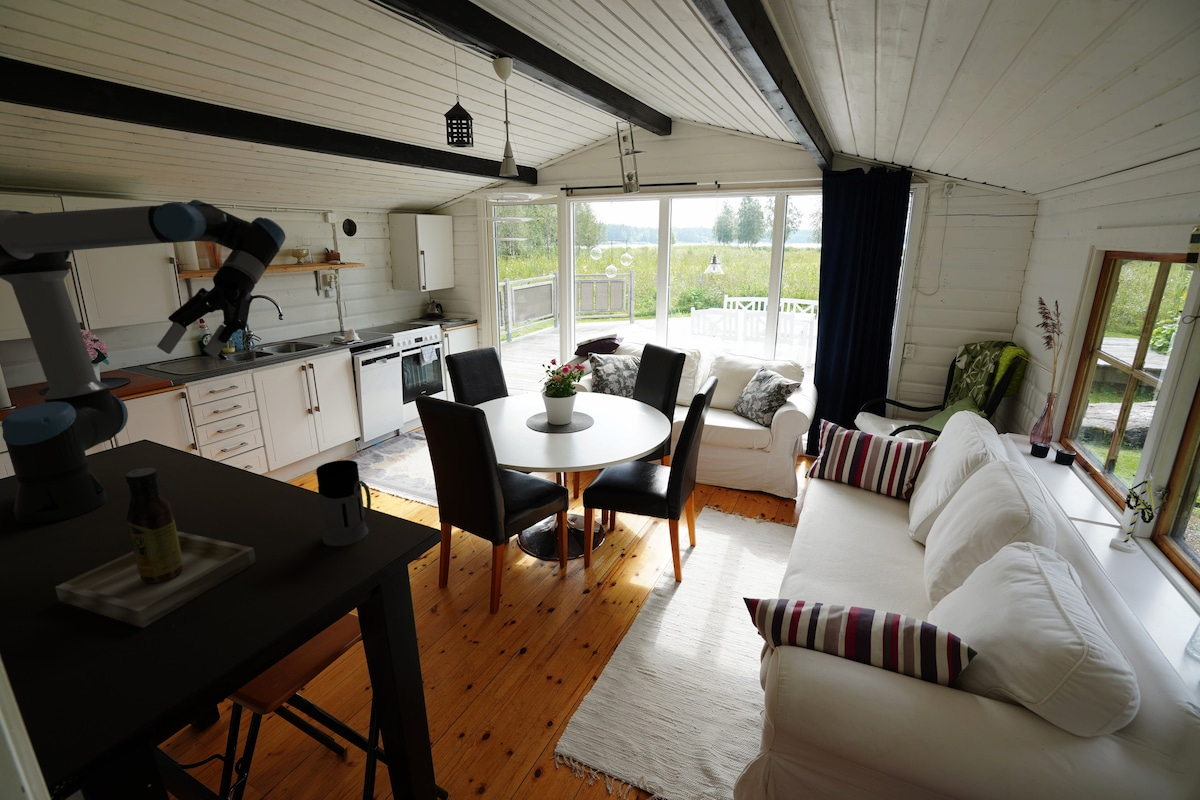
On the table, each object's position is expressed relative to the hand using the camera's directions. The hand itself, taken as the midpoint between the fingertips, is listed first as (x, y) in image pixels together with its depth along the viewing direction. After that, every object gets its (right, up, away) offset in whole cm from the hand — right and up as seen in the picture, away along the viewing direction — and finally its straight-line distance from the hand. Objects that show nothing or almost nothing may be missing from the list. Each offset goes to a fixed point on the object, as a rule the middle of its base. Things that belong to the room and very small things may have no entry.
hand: (186, 352), depth 119 cm
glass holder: (+37, -38, -5) cm, 54 cm away
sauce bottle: (+10, -41, -19) cm, 47 cm away
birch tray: (+10, -42, -19) cm, 47 cm away
